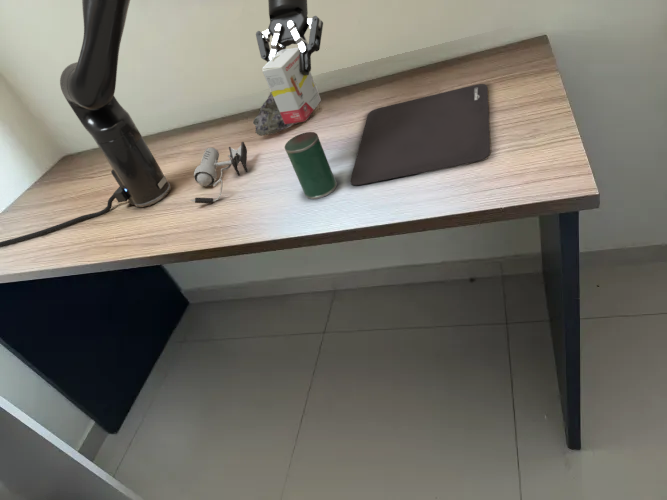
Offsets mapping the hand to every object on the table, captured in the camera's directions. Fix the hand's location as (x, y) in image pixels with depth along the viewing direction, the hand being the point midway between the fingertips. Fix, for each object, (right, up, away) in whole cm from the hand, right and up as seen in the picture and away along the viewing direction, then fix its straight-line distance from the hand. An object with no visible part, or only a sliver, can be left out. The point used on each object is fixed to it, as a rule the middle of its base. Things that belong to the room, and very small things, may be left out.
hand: (291, 76), depth 123 cm
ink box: (+2, -6, +4) cm, 8 cm away
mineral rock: (-3, -3, +34) cm, 34 cm away
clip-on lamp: (-17, -18, +20) cm, 32 cm away
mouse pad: (+26, -9, +7) cm, 29 cm away
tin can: (+6, -21, +3) cm, 22 cm away
